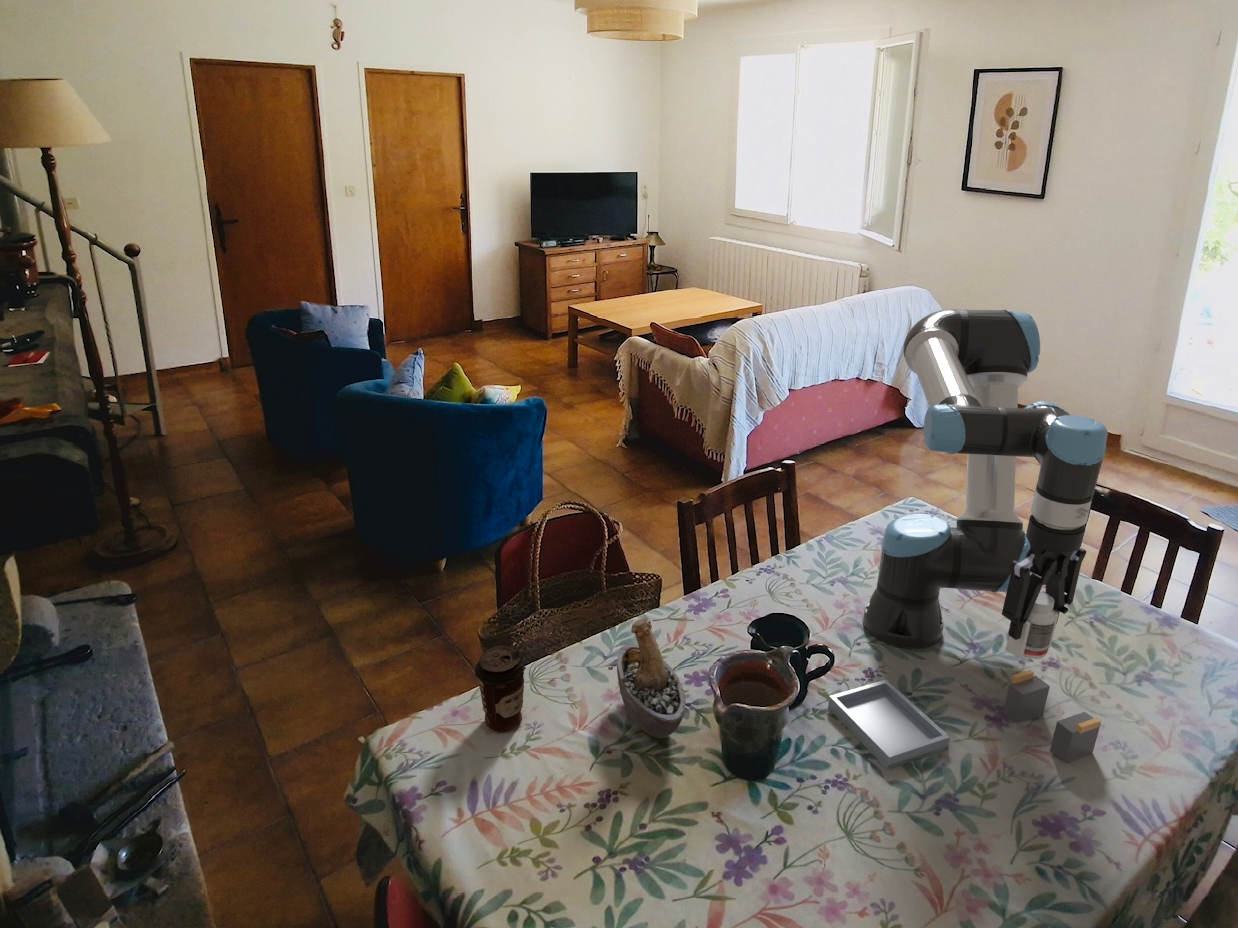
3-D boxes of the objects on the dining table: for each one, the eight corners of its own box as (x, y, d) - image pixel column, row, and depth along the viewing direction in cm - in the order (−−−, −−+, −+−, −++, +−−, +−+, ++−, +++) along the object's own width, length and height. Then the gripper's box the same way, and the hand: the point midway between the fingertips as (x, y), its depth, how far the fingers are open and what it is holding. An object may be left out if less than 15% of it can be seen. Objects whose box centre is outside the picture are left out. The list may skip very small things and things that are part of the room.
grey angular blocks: (1000, 710, 146) (1007, 676, 143) (1026, 702, 148) (1034, 668, 145) (1067, 764, 134) (1077, 728, 131) (1095, 754, 136) (1105, 719, 133)
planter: (628, 680, 154) (627, 586, 146) (712, 710, 146) (716, 612, 138) (584, 728, 142) (582, 629, 134) (673, 764, 134) (676, 660, 126)
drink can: (539, 713, 146) (535, 651, 140) (513, 744, 139) (509, 679, 134) (496, 699, 149) (491, 638, 144) (469, 728, 142) (463, 665, 137)
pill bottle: (1053, 651, 134) (1066, 599, 130) (1035, 664, 131) (1048, 611, 127) (1021, 635, 138) (1033, 584, 134) (1003, 647, 135) (1014, 595, 131)
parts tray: (828, 707, 147) (829, 695, 146) (884, 690, 151) (886, 679, 150) (887, 769, 133) (889, 757, 132) (947, 749, 137) (950, 736, 136)
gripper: (1034, 543, 119) (1004, 677, 128) (1123, 517, 126) (1089, 645, 135) (992, 521, 125) (967, 650, 134) (1079, 497, 132) (1049, 621, 141)
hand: (1028, 647), depth 135 cm, fingers closed on pill bottle, 5 cm apart
